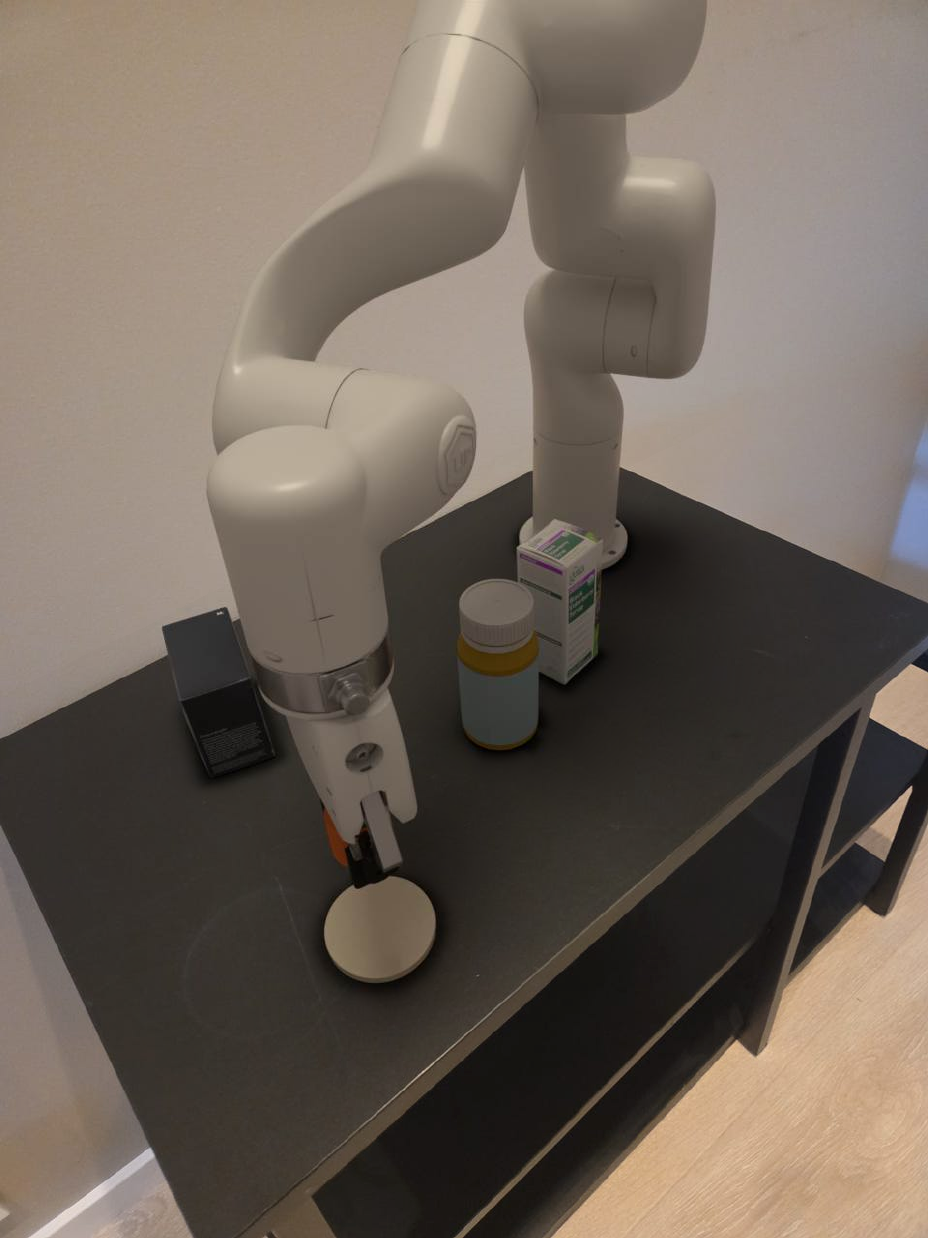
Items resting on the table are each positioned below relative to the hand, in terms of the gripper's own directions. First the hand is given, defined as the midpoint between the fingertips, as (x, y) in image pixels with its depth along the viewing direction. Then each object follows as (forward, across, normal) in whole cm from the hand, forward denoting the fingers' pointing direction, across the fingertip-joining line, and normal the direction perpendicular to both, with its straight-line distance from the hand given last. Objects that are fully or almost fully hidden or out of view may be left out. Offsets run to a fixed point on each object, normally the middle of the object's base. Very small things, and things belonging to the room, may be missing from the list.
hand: (363, 850), depth 59 cm
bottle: (+10, +14, -18) cm, 25 cm away
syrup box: (+10, +19, -28) cm, 35 cm away
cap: (-1, 0, 0) cm, 1 cm away
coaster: (+10, 0, 0) cm, 10 cm away
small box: (+11, +26, +4) cm, 28 cm away
